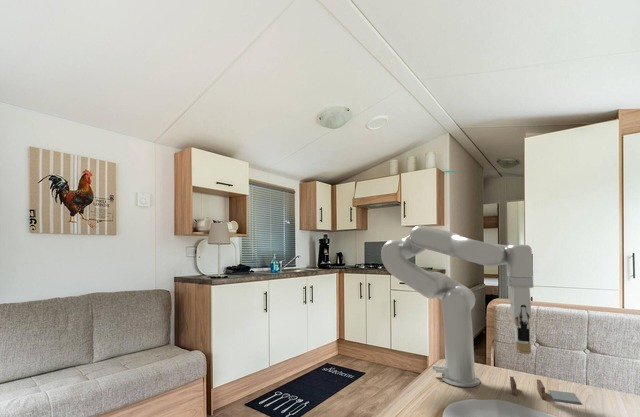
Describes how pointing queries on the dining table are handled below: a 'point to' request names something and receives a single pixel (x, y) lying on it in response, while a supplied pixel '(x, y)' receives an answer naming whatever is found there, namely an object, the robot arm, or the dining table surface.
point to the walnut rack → (539, 388)
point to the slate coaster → (564, 397)
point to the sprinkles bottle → (522, 345)
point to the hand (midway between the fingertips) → (522, 338)
